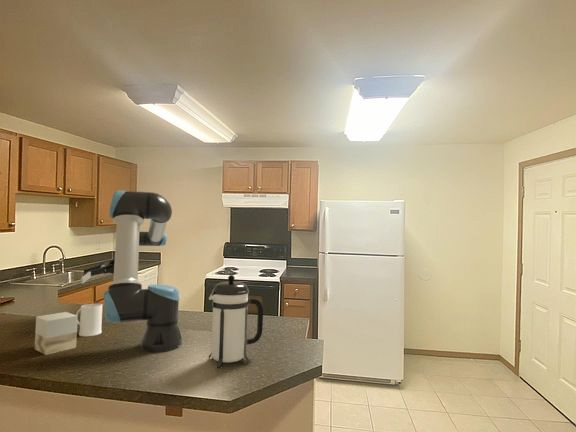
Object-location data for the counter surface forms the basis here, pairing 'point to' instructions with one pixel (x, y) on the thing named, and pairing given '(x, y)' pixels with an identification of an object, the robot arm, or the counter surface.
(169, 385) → the counter surface
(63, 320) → the tower top
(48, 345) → the block
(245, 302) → the coffee press
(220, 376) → the counter surface
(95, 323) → the mug
